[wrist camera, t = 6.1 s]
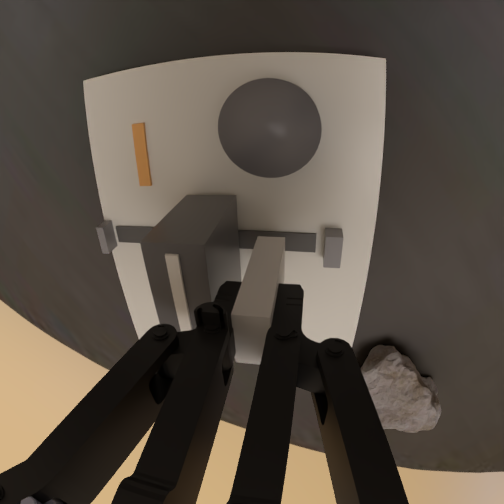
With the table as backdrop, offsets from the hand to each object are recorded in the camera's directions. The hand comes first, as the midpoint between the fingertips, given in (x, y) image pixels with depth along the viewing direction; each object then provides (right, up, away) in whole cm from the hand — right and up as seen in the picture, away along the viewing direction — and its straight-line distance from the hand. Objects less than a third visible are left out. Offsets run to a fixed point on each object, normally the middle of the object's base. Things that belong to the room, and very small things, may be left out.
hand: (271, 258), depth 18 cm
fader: (-3, +1, +2) cm, 4 cm away
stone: (+12, -11, +9) cm, 19 cm away
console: (-2, +2, +4) cm, 5 cm away
